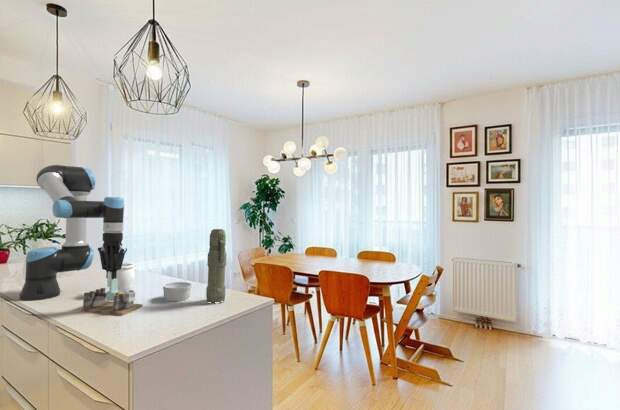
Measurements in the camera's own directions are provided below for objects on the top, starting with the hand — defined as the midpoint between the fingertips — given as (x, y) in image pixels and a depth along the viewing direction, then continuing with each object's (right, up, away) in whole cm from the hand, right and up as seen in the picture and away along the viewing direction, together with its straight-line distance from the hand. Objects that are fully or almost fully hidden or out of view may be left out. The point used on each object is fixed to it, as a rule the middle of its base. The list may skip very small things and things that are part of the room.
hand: (111, 286), depth 140 cm
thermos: (+41, -12, +16) cm, 46 cm away
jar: (-8, -10, +23) cm, 26 cm away
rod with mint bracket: (+1, -10, 0) cm, 10 cm away
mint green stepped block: (+1, -6, 0) cm, 6 cm away
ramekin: (+21, -11, +18) cm, 30 cm away
